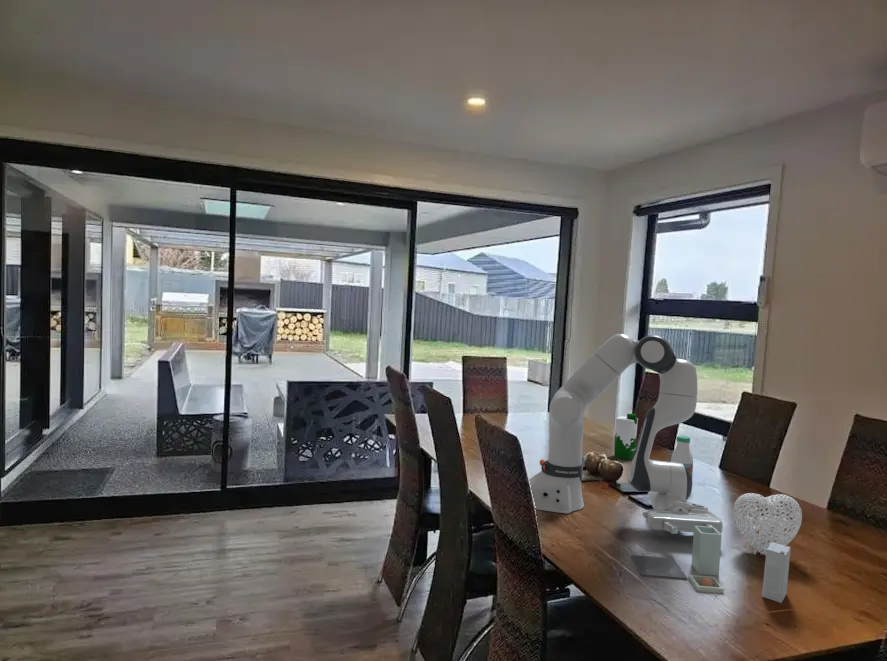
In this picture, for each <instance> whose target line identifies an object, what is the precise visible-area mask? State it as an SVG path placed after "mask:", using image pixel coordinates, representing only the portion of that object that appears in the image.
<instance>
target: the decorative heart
mask: <svg viewBox="0 0 887 661" xmlns="http://www.w3.org/2000/svg"><path fill="white" fill-rule="evenodd" d="M732 509H733V510H732V516H733V517H732V518H733V521H734V525H735V527H736V529H737V531H738V532H739V534H740V536H741V537H742V538H743V539H744V540H745V541H746V542H747V544H746V553H747V554H749V553H750V546H751V547H753V555H754V556H755V555H757V551H758V552H759V553H760V554H759V555H760V556H761V555H764V556H765V557H766V550H767V548H768V547H769V545H770V544H771V542H772V543H777V544H781V545H785V546H788V544H790V543H791V541H792V540H793V539H794V538H795V537H796V536H797V535H798V532H799V531H800V528H801V526H802V522H803V521H802V520H803V513H802V512H803V511H802V508H801V506H800V504H799V502H797V500H795V499H794V498H793V497H791V496H789V495H787V494H783V493H781V494H779V493H778V494H771V495H769V496H765V497H764V496H763V495H762V494H760V493H753V492H748V493H744V494H741V495H740V496H738V498H737V499H736V500H735V502H734V504H733V508H732ZM766 509H767V510H766ZM762 514H763V515H762ZM758 531H759V533H757V532H758Z"/></svg>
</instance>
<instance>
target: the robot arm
mask: <svg viewBox="0 0 887 661" xmlns="http://www.w3.org/2000/svg"><path fill="white" fill-rule="evenodd" d="M633 364H638V365H640V366H641V367H643V368H645V369H647V370H649V371H653V372H655V373H658V376H659V383H660V384H659V393H658V398H657V401H656V402H655V404H654V406H653V407H650V408H649V409H648V410H647V411H646V413H645V415H644V419H643V421H642V424H641V427H640V432H639V434H638V438H637V441H636V449H635V453H634V456H633V459H631V460H630V461H631V462H630V465H629V467H628V472H627V480H628V482H629V484H630V486H632V488H633V489H635V490H636V491H637V492H647V493H648V492H650V494H649V499H650V504H651V507H652V508H653V509H648V510H647V511H645V512H642V516H643V518H644V519H646V524H647V527H648V528H649V529H651V530H655V531H657V530H658V531H666V532H668V533H670V534H672V535H678V532H682V533H694V526H706V527H714V528H715V529H716V530H717V531H718V532H719V533H720V534H721V535H722V532H723V526H724V525H723V521H722V520H721V518H720V517H719V516H717V515H716V514H715V513H713V512H712V511H710V510H709V507H707V506H705V505H702V504H697V503H692V502H690V501H687V500H688V499H689V497H690V496H691V494H692V489H693V475H692V476H691V474H690V472H689V470H688V469H687V467H686V466H685V465H684V464H682V463H676V462H671V461H667V460H664V461H663V460H654V459H650V455H651V453H652V448H653V445H654V441H655V438H656V435H657V434H658V432H659V431H661V430H662V429H665V428H667V427H670V426H675V425H679V424H681V423H683V422H686V421H687V420H689V419H691V418H692V417H693V416H694V414H695V412H696V408H697V404H698V403H697V401H698V374H697V369H696V366H695V365H694V363H692V362H690V361H689V360H686V359H684V358H683V359H681V358H677V357H676V355H675V353H674V350H673V348H672V345H671V344H670V342H669V341H668V339H666V338H665V337H662V336H660V335H655V334H650V335H645V336H643V337H642V338H640V339H639V340H634V339H632V338H631V337H630V336H628V335H626V334H624V333H616V334H614V335H611V337H609V339H607V340H606V341H605V342H603V343H602V344H601V345H600V346H598V348H597V349H596V350H594V352H593V353H592V354H591V355H590V357H588V359H586V360H585V362H584V363H583V364H582V365H581V366H580V367H579V368H578V369H577V371H576V372H574V373H573V374H572V375H571V376H570V377H569V378H568V380H566V381H565V382H564V384H563V385H561V387H559V389H558V390H556V391H555V393H554V395H553V397H552V399H551V400H550V403H549V414H548V415H549V416H548V419H549V420H548V453H547V454H548V456H547V460H545V459H544V458H543V459H542V458H541V459H540V460H539V465H540V466H541V467H540V468H541V471H540V472H538V473H536V474H535V475H533V476H532V477H530V478H528V479H529V481H530V485H531V490H532V494H533V498H534V502H535V506H536V509H535V510H539V511H545V512H553V513H561V514H571V513H572V512H575V511H580V510H582V509H583V508H585V504H584V500H583V495H582V494H583V492H582V480H583V471H584V468H583V464H582V463H583V462H582V456H583V441H584V440H583V437H584V435H583V434H584V418H585V411H586V409H587V408H588V407H590V405H592V403H593V402H595V401H596V400H597V399H598V398H599V397H600V396H601V395H602V394H604V393H605V392H606V391H607V390H608V388H610V387H611V386H612V384H613V383H614V382H615V381H616V380H617V379H619V377H620V376H621V375H622V374H623V373H624V371H626V370H627V369H628V368H629V367H630V366H632V365H633Z"/></svg>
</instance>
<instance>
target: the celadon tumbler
mask: <svg viewBox="0 0 887 661" xmlns="http://www.w3.org/2000/svg"><path fill="white" fill-rule="evenodd" d="M692 537H693V538H692V549H691V550H692V553H691V566H692V567H693V569H694V570H695V571H696V572H697V574H698V575H699V574H700V575H707V576H708V575H709V576H710V575H711V576H720V563H721V562H720V561H721V548H722V533H721V534H720V533H719V532H718V531H717V530H716V529H715V528H714V527H706V526H694V532H693V536H692Z"/></svg>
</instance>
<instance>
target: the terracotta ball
mask: <svg viewBox="0 0 887 661" xmlns="http://www.w3.org/2000/svg"><path fill="white" fill-rule="evenodd" d="M700 583H701V584H700V585H701V586H710V587H714V584H713V582H712V580H711V579H710V578H708V577H705V578H703V579H702V580H701V581H700Z"/></svg>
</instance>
